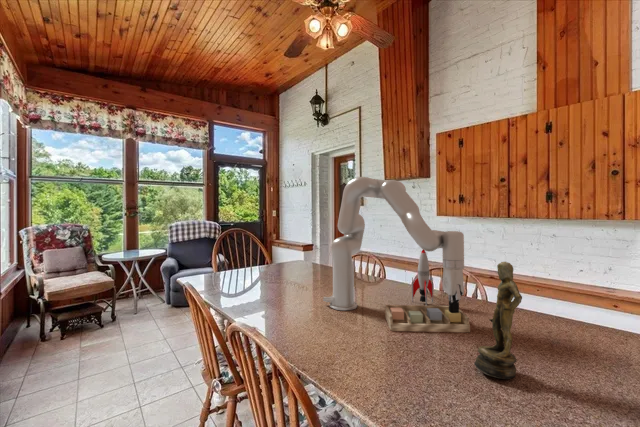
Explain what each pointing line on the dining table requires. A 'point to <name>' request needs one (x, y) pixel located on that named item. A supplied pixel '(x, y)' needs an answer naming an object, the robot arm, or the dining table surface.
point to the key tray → (425, 320)
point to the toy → (423, 279)
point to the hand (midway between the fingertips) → (453, 311)
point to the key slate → (434, 314)
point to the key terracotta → (397, 313)
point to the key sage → (415, 316)
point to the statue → (498, 356)
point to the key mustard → (453, 316)
